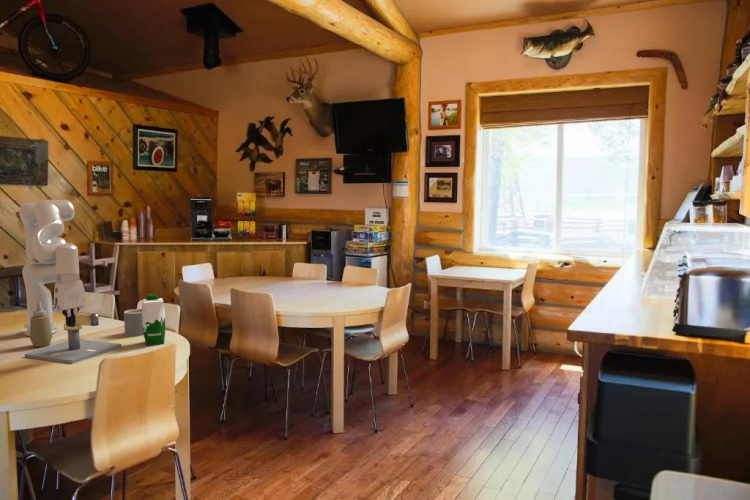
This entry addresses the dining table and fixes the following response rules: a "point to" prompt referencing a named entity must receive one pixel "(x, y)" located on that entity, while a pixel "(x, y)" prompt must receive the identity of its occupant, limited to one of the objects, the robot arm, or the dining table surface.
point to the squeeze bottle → (40, 328)
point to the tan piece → (83, 321)
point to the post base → (72, 353)
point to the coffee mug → (133, 322)
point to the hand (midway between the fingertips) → (71, 326)
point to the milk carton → (153, 319)
